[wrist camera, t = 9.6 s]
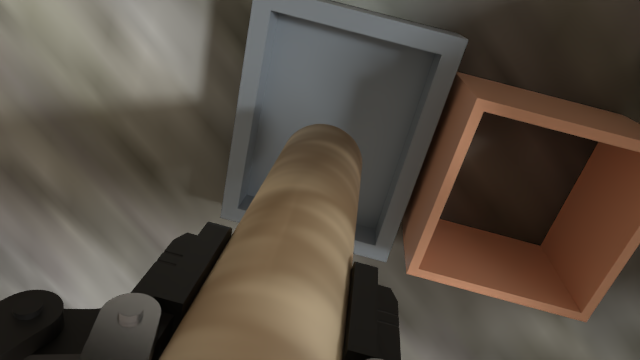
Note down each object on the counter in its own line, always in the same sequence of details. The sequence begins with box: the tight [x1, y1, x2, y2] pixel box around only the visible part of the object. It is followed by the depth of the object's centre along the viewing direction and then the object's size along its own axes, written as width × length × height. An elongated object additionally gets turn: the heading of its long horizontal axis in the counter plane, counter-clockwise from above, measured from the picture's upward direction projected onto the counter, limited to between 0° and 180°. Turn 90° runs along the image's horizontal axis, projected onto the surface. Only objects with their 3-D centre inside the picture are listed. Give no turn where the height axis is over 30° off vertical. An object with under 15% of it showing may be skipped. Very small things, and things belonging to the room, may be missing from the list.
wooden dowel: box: [159, 124, 362, 360], centre depth 15 cm, size 4×4×14 cm
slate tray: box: [220, 0, 468, 262], centre depth 26 cm, size 11×14×3 cm
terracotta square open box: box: [402, 72, 640, 322], centre depth 24 cm, size 10×10×6 cm
